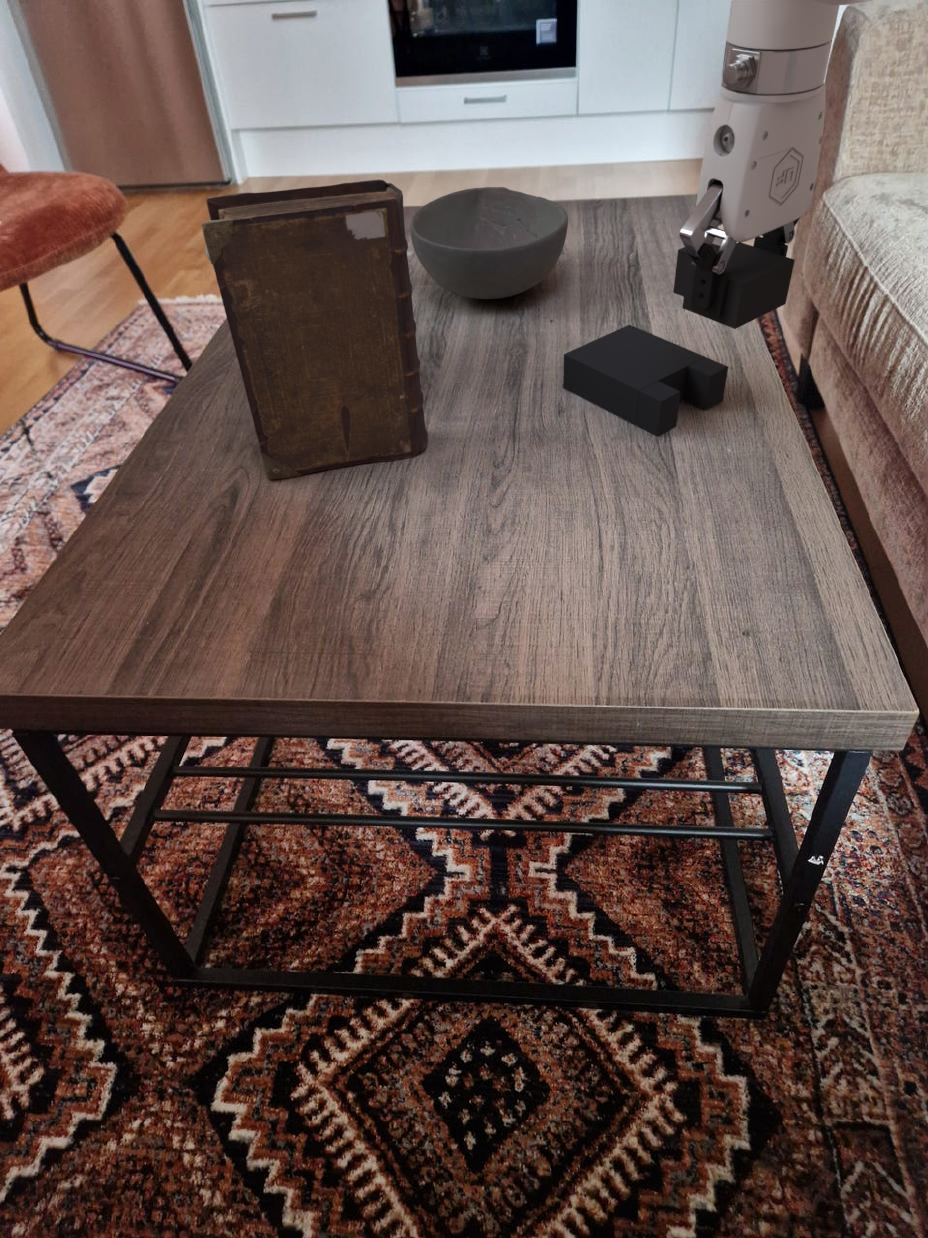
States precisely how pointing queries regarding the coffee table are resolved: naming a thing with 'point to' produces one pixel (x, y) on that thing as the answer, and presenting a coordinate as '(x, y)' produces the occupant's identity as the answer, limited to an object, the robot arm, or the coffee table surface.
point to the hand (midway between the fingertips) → (735, 297)
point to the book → (321, 322)
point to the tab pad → (742, 283)
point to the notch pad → (643, 377)
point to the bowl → (489, 241)
